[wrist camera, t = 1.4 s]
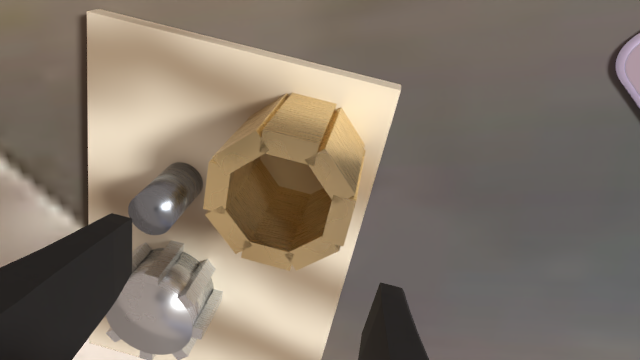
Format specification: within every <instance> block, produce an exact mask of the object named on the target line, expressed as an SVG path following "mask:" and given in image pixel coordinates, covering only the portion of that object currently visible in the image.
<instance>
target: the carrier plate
mask: <svg viewBox="0 0 640 360" xmlns="http://www.w3.org/2000/svg"><path fill="white" fill-rule="evenodd" d="M292 92H293V93H297V94H300V95H304V96H308V97H312V98H316V99H320V100H324V101H328V102H332V103H336V104H337V105H336V109H335V111H336V110H338V109H339V108H341V107H342V109H343V110H344V112H345V114H346V115H347V117H348V118H349V120H350V122H351V123H352V125H353V126H354V128H355V130H356V131H357V133H358V134H359V136H360V138H361V139H362V141H363V142H364V144H365V147H364V150H366V151H365V157H364V162H363V168H362V173H361V178H360V184H359V189H358V195H357V200H356V204H355V208H354V211H353V215H352V218H351V222H350V225H349V229H348V232H347V236H346V239H345V243H344V246H340V251H338V252H336V253H334V254H332V255H330V256H327V257H325V258H323V259H321V260H319V261H316V262H314V263H312V264H310V265H308V266H306V267H303V268H301V269H299V270H297V271H296V270H295V268H294V267H293V266H292V267H291V270H290V271H288V270H284V269H280V268H277V267H273V266H269V265H266V264H262V263H258V262H255V261H251V260H247V259H244V258H241V255H242V251H241V252H239V253H237V254H235V253H234V251H233V250H232V249H231V248H230V246H229V245H228V244H227V242H226V241H225V240H224V239H223V237H222V236H221V235H220V233H219V232H218V231H217V230H216V228H215V227H214V226H213V224H212V223H211V222H210V221H209V219H208V218H207V217H206V215H205V214H206V213H207V211H208V210H205V209H203V206H204V197H205V189H206V181H207V172H208V164H209V161H210V160H211V159H212V156H213V155H214V154H215V153H216V152H217V151H218V150H219V149H220V148H221V147H222V146H223V145H224V144H225V143H226V142H227V140H228V139H229V138H230V137H231V136H232V135H233V134H234V133H235V132H236V131H237V130H238V129H239V128H240V127H241V126H242V125H243V123H244V122H245V121H246V120H247V119H248V118H249V117H250V116H251V115H252V114H254V113H256V112H257V111H259V110H261V109H262V108H264V107H265V106H267V105H269V104H270V103H272V102H273V101H275V100H277V99H278V98H280V97H282V96H283V95H285V94H286V93H287V94H288V96H290V95H291V94H292ZM400 92H401V85H400V84H396V83H392V82H388V81H384V80H380V79H376V78H372V77H368V76H364V75H360V74H356V73H352V72H348V71H344V70H340V69H337V68H333V67H329V66H325V65H321V64H317V63H313V62H309V61H305V60H301V59H297V58H293V57H289V56H285V55H281V54H277V53H273V52H269V51H265V50H261V49H257V48H253V47H249V46H245V45H241V44H237V43H233V42H229V41H225V40H221V39H217V38H213V37H209V36H205V35H201V34H197V33H193V32H189V31H185V30H181V29H177V28H173V27H170V26H166V25H162V24H158V23H154V22H150V21H146V20H142V19H138V18H134V17H130V16H126V15H122V14H118V13H114V12H110V11H106V10H102V9H97V10H91V11H87V96H88V224H91V223H93V222H95V221H97V220H99V219H101V218H103V217H105V216H107V215H109V214H111V213H114V214H118V215H121V216H125V217H129V214H128V206H129V203H130V202H131V200H132V199H133V198H134V197H135V196H136V195H137V194H139V193H140V192H141V191H142V190H143V189H144V188H145V187H146V186H147V185H149V184H150V183H151V182H152V181H153V180H154V179H155V178H156V177H157V176H158V175H160V174H161V173H162V172H163V171H164V170H165V169H166V168H167V167H168V166H170V165H171V164H173V163H177V162H183V163H187V164H189V165H191V166H193V167H194V168H195V169H196V170H197V171H198V172H199V173H200V175H201V177H202V181H203V188H202V191H201V192H200V194H199V195H198V196H197V197H196V198H195V200H194V201H193V202H192V203H191V204H190V206H189V207H188V208H187V209H186V210H185V211H184V213H183V214H182V215H181V216H180V217H179V218H178V220H177V221H176V222H175V223H174V224H173V226H172V227H171V228H170V229H169V230H168V231H167V232H166V233H164V234H161V235H149V234H146V233H144V232H142V231H141V230H139V229H138V228H137V227H136V226H135V225H134V224H133V223H132V252H133V251H134V250H135V249H136V248H137V247H138V246H140V245H142V244H144V243H147V244H148V245H149V246H150V247H151V249H152V250H153V249H156V248H165V247H166V246H167V245H168V244H169V243H170V241H171V240H173V241H176V242H180V243H184V249H183V252H185V253H187V254H189V255H191V256H193V257H194V258H195V259H197V260H198V261H199V262H200V263H201V262H203V261H205V260H207V259H208V260H209V261H210V262H211V264H212V265H213V266H214V267H215V268H216V269H215V271H214V273H213V274H212V276H211V279H212V282H213V287H214V289H216V290H219V291H223V294H222V301H221V303H220V305H219V307H218V309H217V311H216V313H215V315H214V316H213V318H212V320H211V322H210V324H209V326H208V328H207V330H206V332H205V334H204V336H203V338H202V339H201V340H200V339H197V340H196V342H195V344H194V346H193V348H192V350H191V352H190V354H189V355H188V357H185V358H183V359H181V360H321V358H322V355H323V351H324V348H325V344H326V341H327V338H328V334H329V331H330V328H331V324H332V321H333V317H334V314H335V311H336V307H337V304H338V301H339V297H340V294H341V290H342V287H343V284H344V280H345V277H346V274H347V270H348V267H349V264H350V260H351V257H352V253H353V250H354V247H355V243H356V240H357V237H358V233H359V230H360V226H361V223H362V220H363V216H364V213H365V210H366V206H367V203H368V200H369V196H370V193H371V189H372V186H373V183H374V179H375V176H376V173H377V169H378V166H379V162H380V159H381V156H382V152H383V149H384V146H385V142H386V139H387V135H388V132H389V129H390V125H391V122H392V119H393V115H394V112H395V109H396V105H397V102H398V98H399V95H400ZM260 160H261V161H262V163H263V164H264V165H265V167H266V168H267V170H268V171H269V172H270V174H271V175H272V177H273V178H274V180H275V181H276V182H277V184H278V185H279V186H281V187H285V188H289V189H293V190H296V191H300V192H304V193H308V194H312V193H314V192H316V191H318V190H320V189H322V188H323V186H322V185H321V183H320V182H319V180H318V179H317V177H316V176H315V174H314V173H313V171H312V170H311V168H310V167H309V165H307V164H303V163H299V162H296V161H292V160H288V159H284V158H280V157H276V156H273V155H269V154H263V155H261V158H260ZM129 218H130V217H129ZM109 328H110V325H109V323H108V321H107V318H106V315H105V317H104V318H103V319H102V321H101V322H100V323H99V325H98V326H97V327H96V329H95V330H94V331H93V333H92V334H91V335H90V337H89V343H91V344H94V345H98V346H101V347H105V348H108V349H112V350H115V351H119V352H122V353H126V354H129V355H133V356H136V357H139V355H140V350H138V349H135V348H134V347H132V346H130V345H129V344H127V343H126V342H124V341H123V340H122V339H121V340H119V341H117V342H114V341H113V340H112V339H111V338H110V337H109V336H108V335H107V334H106V332H107V331H108V330H109ZM153 360H177V359H176V358H175V357H174V356H173V355H172V354H166V355H156V356H155V357H154V359H153Z"/></svg>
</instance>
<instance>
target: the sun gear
mask: <svg viewBox="0 0 640 360" xmlns="http://www.w3.org/2000/svg"><path fill="white" fill-rule="evenodd" d="M183 249H184V243H180V242H176V241H173V240H171V241H170V243H169V244H168V245H167V246H166V247H165V248H156V249H153V250H152V249H151V247H150V246H149V245H148V244H147V243H144V244H142V245H140V246H138V247H137V248H136V249H135V250H134V251H133V252H132V274H131V275H130V277H129V279H128V281H127V283H126V284H125V286H124V288H123V290H122V292H121V293H120V295H119V297H118V298H117V300H116V302H115V303H114V305H113V306H112V307H111V309H110V310H109V311H108V313H107V314H106V318H107V321H108V323H109V325H110V328H109V330H108V331H107V332H106V334H107V335H108V336H109V337H110V338H111V339H112V340H113V341H114V342H117V341H119V340H121V339H122V340H123V341H124V342H126V343H127V344H129V345H130V346H132V347H134V348H135V349H138V350H140V355H139V358H143V359H146V360H153V359H154V357H155V356H156V355H166V354H172V355H173V356H174V357H175V358H176V359H177V360H181V359H183V358H185V357H188V355H189V354H190V352H191V350H192V348H193V346H194V344H195V342H196V340H197V339H200V340H201V339H202V338H203V336H204V334H205V332H206V330H207V328H208V326H209V324H210V322H211V320H212V318H213V316H214V315H215V313H216V311H217V309H218V307H219V305H220V303H221V301H222V294H223V291H219V290H216V289H214V287H213V282H212V279H211V276H212V274H213V273H214V271H215V269H216V268H215V267H214V266H213V265H212V264H211V262H210V261H209V260H208V259H207V260H205V261H203V262H201V263H200V262H199V261H198V260H197V259H195V258H194V257H193V256H191V255H189V254H187V253H185V252H183Z"/></svg>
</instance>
